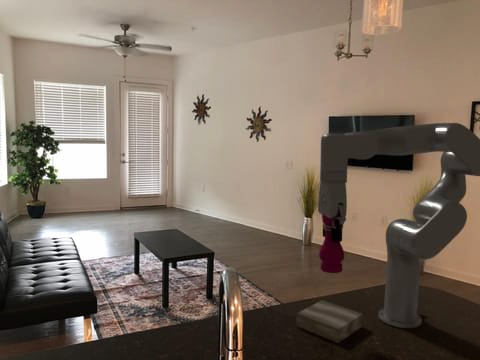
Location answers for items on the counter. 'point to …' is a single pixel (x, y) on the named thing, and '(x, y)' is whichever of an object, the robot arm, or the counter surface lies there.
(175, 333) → the counter surface
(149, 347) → the counter surface
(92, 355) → the counter surface
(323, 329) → the grey ridged block
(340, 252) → the pepper mill
